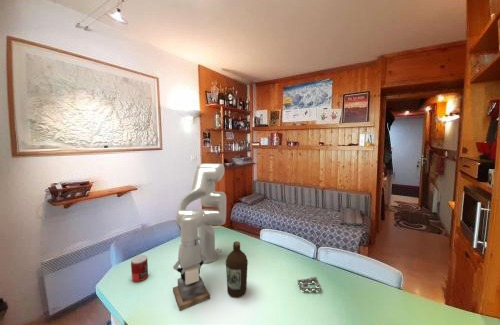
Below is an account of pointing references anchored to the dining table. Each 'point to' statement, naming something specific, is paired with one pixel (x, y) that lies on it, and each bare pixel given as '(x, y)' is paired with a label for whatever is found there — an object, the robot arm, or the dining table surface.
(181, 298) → the pedestal
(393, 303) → the dining table surface
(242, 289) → the olive oil
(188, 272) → the cream cube
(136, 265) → the canned food
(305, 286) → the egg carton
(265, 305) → the dining table surface
